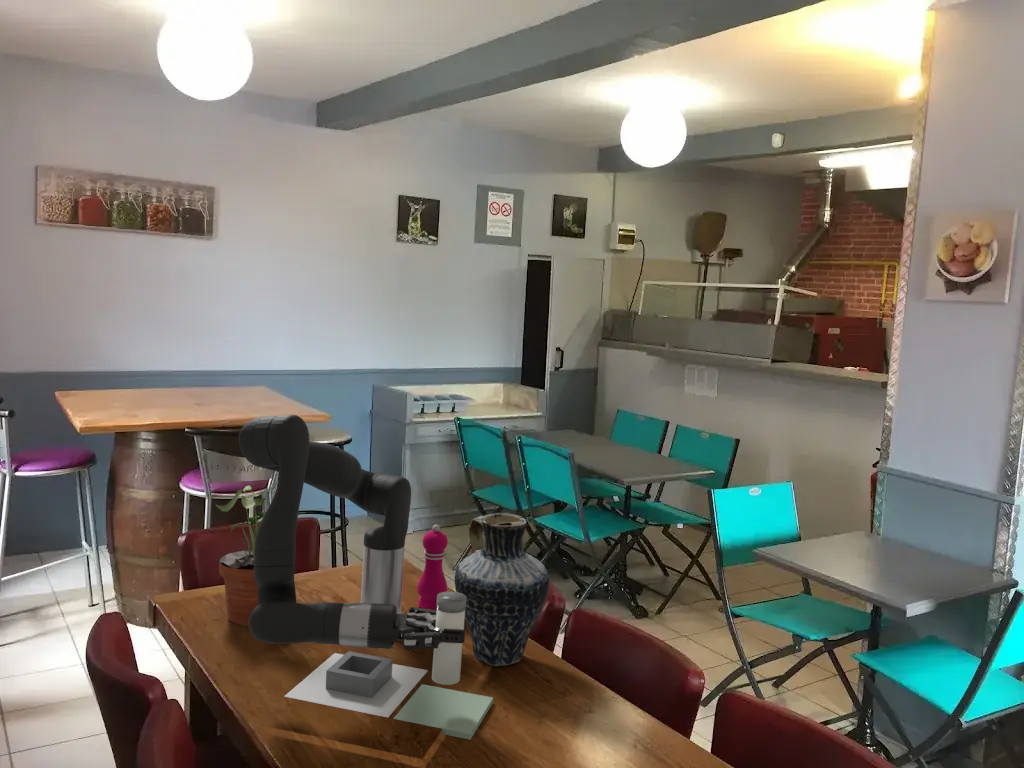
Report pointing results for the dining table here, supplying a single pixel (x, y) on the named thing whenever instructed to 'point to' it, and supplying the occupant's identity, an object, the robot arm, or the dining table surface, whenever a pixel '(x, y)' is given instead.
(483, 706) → the mat
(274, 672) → the dining table surface
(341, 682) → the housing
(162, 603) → the dining table surface
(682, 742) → the dining table surface
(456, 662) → the cartridge
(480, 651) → the jug
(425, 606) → the pepper mill
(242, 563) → the potted plant
